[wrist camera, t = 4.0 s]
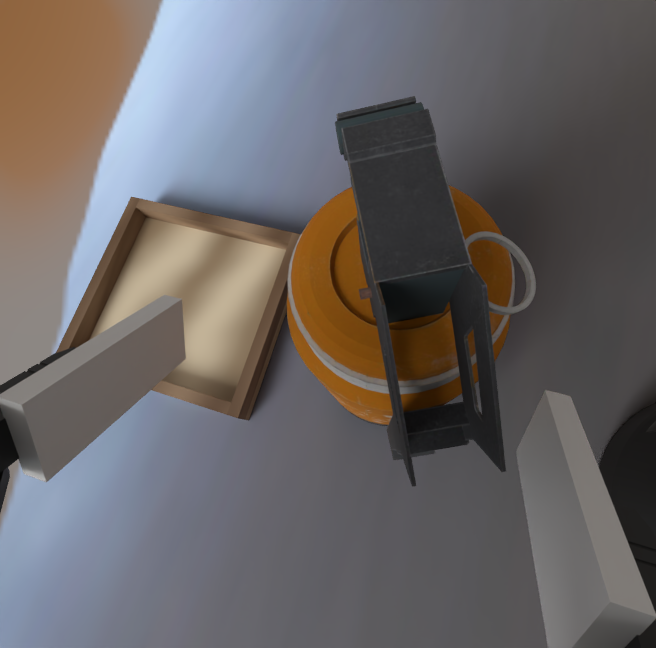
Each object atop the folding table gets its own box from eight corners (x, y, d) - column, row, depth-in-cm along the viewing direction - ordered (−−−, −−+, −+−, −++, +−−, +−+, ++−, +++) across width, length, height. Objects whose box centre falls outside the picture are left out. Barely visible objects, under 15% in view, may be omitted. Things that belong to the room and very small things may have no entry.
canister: (436, 290, 30) (539, 9, 11) (478, 446, 26) (737, 448, 7) (316, 313, 30) (208, 88, 11) (341, 469, 27) (249, 526, 8)
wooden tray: (308, 249, 32) (302, 234, 30) (248, 420, 29) (237, 418, 26) (147, 212, 35) (131, 196, 32) (76, 364, 31) (53, 358, 29)
